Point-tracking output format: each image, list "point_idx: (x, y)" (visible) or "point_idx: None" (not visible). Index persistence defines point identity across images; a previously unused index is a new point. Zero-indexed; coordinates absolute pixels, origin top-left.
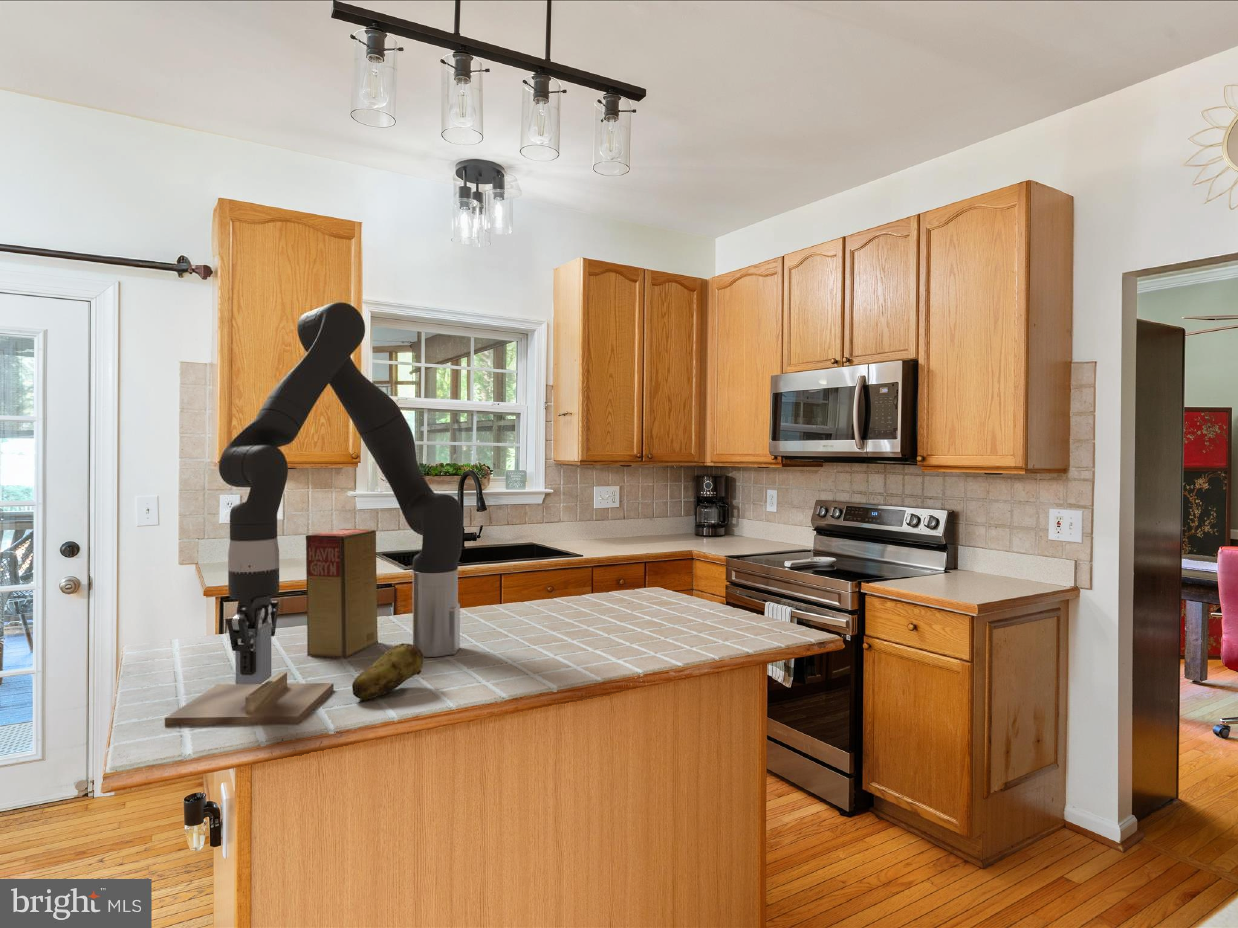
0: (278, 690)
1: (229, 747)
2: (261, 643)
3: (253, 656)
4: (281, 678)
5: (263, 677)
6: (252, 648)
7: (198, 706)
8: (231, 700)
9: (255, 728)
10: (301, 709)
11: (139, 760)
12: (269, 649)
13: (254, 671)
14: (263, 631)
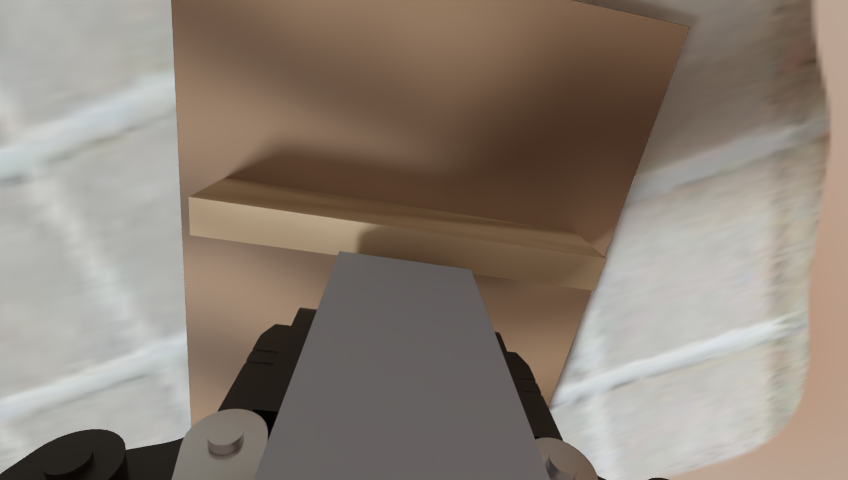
0: (326, 197)
1: (793, 230)
2: (522, 455)
3: (526, 411)
4: (276, 205)
5: (441, 276)
6: (592, 474)
7: None
8: None
9: (647, 193)
10: (601, 27)
11: (761, 415)
12: (341, 357)
13: (498, 335)
14: None
